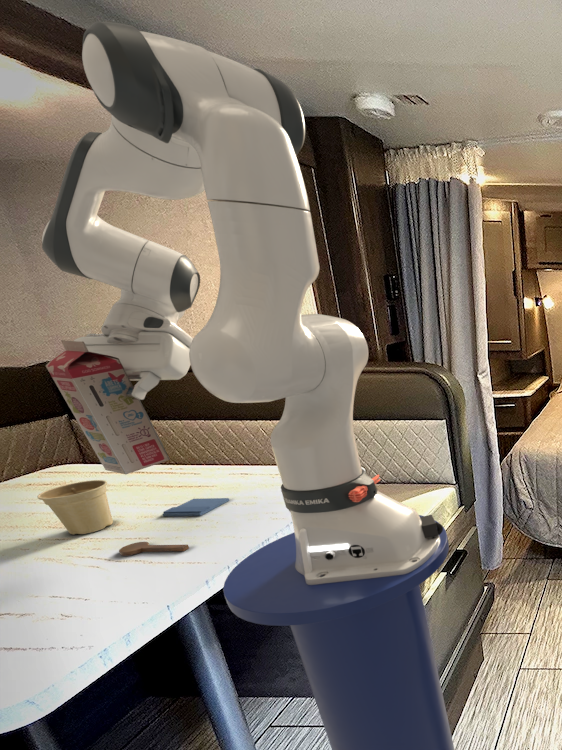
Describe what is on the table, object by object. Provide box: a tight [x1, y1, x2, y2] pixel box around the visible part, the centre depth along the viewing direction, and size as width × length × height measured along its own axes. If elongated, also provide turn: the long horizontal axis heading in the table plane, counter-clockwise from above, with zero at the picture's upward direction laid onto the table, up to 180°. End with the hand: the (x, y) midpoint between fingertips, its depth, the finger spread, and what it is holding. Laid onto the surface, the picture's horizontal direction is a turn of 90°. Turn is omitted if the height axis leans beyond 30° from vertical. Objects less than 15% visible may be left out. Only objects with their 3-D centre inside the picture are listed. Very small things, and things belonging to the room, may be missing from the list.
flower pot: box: [37, 479, 114, 535], centre depth 99 cm, size 9×9×9 cm
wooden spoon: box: [118, 541, 190, 557], centre depth 91 cm, size 12×4×1 cm, turn 90°
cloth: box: [162, 497, 230, 517], centre depth 109 cm, size 8×8×1 cm
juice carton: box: [45, 340, 171, 475], centre depth 86 cm, size 7×7×22 cm
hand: (107, 398), depth 85 cm, fingers closed on juice carton, 8 cm apart
